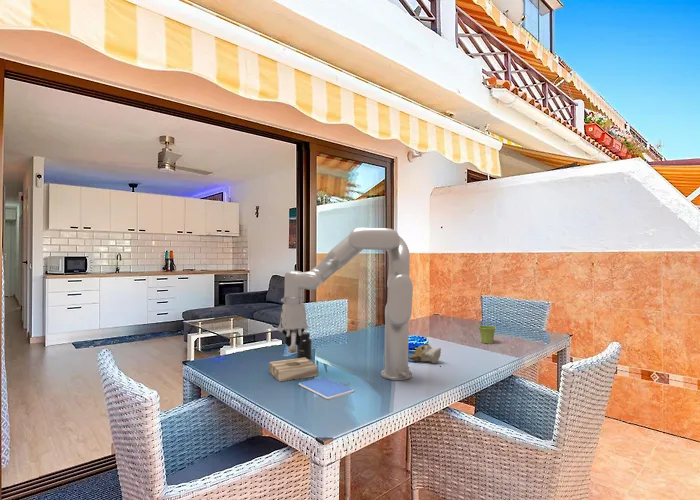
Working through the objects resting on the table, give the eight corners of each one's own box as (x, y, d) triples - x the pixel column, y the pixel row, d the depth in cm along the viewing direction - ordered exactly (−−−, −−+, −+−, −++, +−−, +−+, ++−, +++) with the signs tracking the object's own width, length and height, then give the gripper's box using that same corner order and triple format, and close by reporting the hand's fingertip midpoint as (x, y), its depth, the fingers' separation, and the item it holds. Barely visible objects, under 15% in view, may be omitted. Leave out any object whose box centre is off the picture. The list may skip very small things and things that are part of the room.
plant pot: (474, 341, 219) (474, 326, 219) (488, 340, 222) (488, 325, 222) (485, 345, 210) (485, 329, 210) (499, 344, 213) (499, 328, 213)
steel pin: (297, 352, 159) (298, 328, 159) (290, 353, 157) (290, 328, 157) (295, 350, 161) (295, 326, 161) (287, 351, 160) (288, 327, 160)
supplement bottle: (297, 361, 177) (298, 335, 177) (295, 357, 184) (296, 331, 184) (312, 360, 179) (312, 334, 179) (310, 356, 186) (310, 331, 186)
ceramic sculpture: (436, 346, 170) (405, 344, 178) (437, 366, 170) (406, 363, 177) (443, 342, 179) (413, 340, 187) (444, 361, 179) (414, 358, 187)
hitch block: (317, 375, 157) (317, 366, 157) (279, 381, 149) (279, 371, 149) (305, 366, 169) (305, 357, 169) (269, 371, 162) (269, 362, 162)
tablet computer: (297, 386, 147) (297, 382, 147) (324, 379, 155) (324, 375, 155) (327, 401, 132) (327, 397, 132) (355, 393, 140) (355, 389, 140)
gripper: (276, 303, 152) (276, 349, 152) (315, 301, 160) (314, 345, 160) (271, 300, 159) (270, 345, 159) (308, 298, 166) (308, 341, 166)
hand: (292, 344), depth 159 cm, fingers closed on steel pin, 3 cm apart
